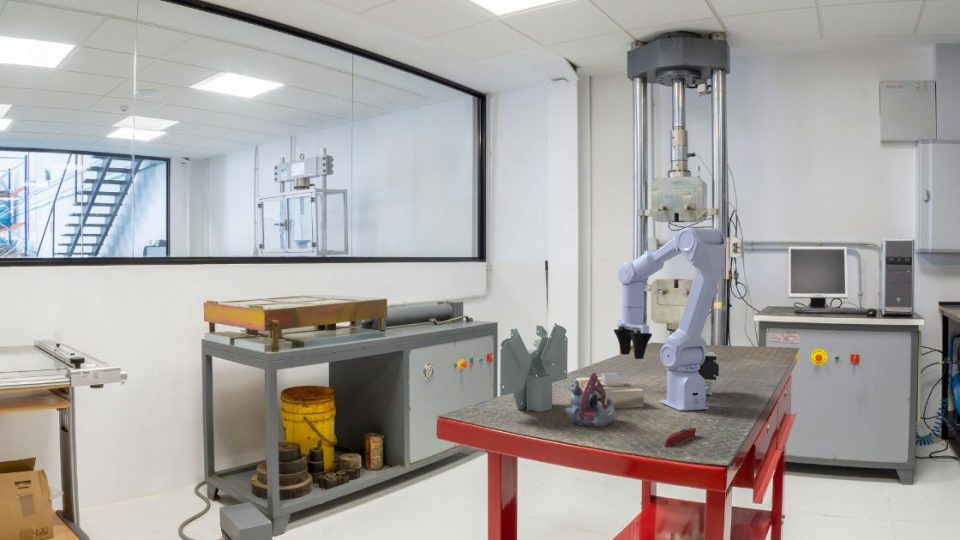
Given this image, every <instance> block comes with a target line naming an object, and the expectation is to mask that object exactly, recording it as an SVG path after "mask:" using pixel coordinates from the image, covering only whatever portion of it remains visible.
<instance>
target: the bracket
mask: <svg viewBox="0 0 960 540" xmlns="http://www.w3.org/2000/svg"><path fill="white" fill-rule="evenodd" d="M535 328H536V333H535V334H536V336H538V337H540V338H538V339H535V340H534V342H533V345H532V346H533V347H535V348H536V349H527V347H526V344H525V343H524V341H523V339H522V337H521V335H520V332H519V331H518V329H517V328H510V337H507V338H505V339H504V340H502V341H501V343H500V347H501V349H500V351H499V353H500V358H499V360H500V361H499V362H500V365H499V367H500V370H499V371H500V374H499V376H500V377H499V381H500V384H499V386H500V387H499V390H500V391H499V397H502V396H507V395H511V394H512V397H513V399H514V400H513V401H514V403H515V406H516V409H517V410H518V411H519V410H524V409H525V407H526V411H535V412H539V413H541V412H543V413H544V412H546V411H549V410H552V409H553V383H555V382H560V381H564V380H567V379H568V345H569V344H568V339H569V338H568V336H567V335H566V333H567V329H566V328H565V327H564V326H562V325H559V324H557V323H556V322H554V325H553V327H552V330H551V332H550V334H549V337H547V335H548V331H547V330H546V329H545V328H544V326H543V325H536V327H535Z"/></svg>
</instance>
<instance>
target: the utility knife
mask: <svg viewBox="0 0 960 540" xmlns="http://www.w3.org/2000/svg"><path fill="white" fill-rule="evenodd" d="M696 431H697V428H696V427H689V428H687V429H685V428H682V429H681V430H679V431H678V432H675V433H673V434H670V435H669V436H667V438H666V441H665V443H664V447H665V448H668V446H669V447H672V446H675V445H677V444H676V443H678V444H680V443H682V441H683V442H684V441H687V439H688V440H690V439H693V438H695V434H696ZM692 437H693V438H692ZM689 438H690V439H689ZM679 442H680V443H679ZM674 444H675V445H674ZM671 445H672V446H671Z"/></svg>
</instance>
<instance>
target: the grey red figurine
mask: <svg viewBox="0 0 960 540" xmlns="http://www.w3.org/2000/svg"><path fill="white" fill-rule="evenodd" d="M589 377H590V378H589V380H588V382H587V385H586V387H585V389H581V388H580V387H579V381H578V380H576V379H575V380H572V379H571V380H570V383H569V385H568V389H569V390H570V391H571V396H570V405H571V407H565V408H563V411H564V412H565V413H566V414H567V415H568V416H569V417H570V418H571V419H572V420H573V421H574V423H575V424H576V425H580V426H590V427H595V428H604V427H606V426H608V425H611V424H612V423H613V421H614V420H615V418H616V417H617V414H616V410H615V409H616V408H614V405H613V401H612V399H611V398H607V405H605V398H606V394H605V391H604V388H603V387H602V384H601V383H600V381H599V380H598V378H597V377H598V376H597V374H596V372H592V373H590V376H589ZM596 383H597V385H596ZM594 391H597V392H598V393H599V397H598V399H597V394H596V393H595V392H594Z"/></svg>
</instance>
